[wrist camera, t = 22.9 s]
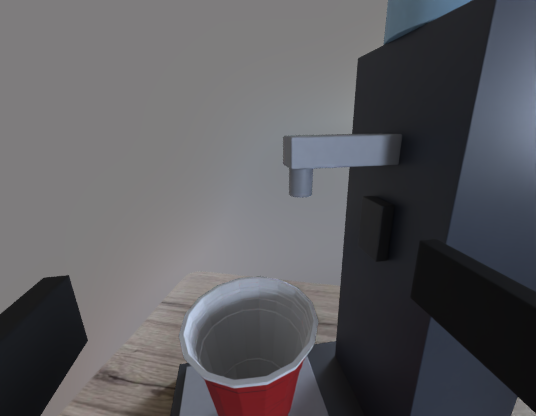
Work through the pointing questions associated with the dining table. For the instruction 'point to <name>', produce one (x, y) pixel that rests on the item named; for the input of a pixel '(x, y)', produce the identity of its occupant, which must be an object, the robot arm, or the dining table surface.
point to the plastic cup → (250, 344)
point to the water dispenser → (420, 208)
